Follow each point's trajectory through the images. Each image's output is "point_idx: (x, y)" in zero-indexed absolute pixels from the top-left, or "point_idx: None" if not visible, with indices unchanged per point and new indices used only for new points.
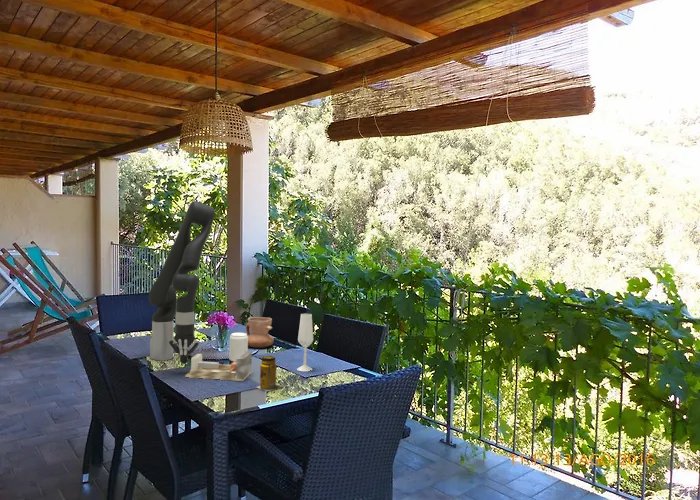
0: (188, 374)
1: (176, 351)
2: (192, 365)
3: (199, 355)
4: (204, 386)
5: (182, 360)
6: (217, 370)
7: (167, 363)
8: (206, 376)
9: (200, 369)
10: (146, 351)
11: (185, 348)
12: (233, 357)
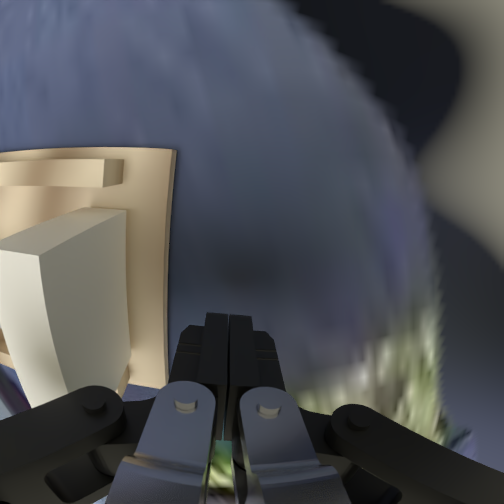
0: (146, 178)
1: (372, 427)
2: (80, 223)
3: (26, 386)
4: (26, 13)
5: (240, 336)
6: None
7: None
8: (9, 152)
9: None
10: None
11: (150, 487)
12: None
